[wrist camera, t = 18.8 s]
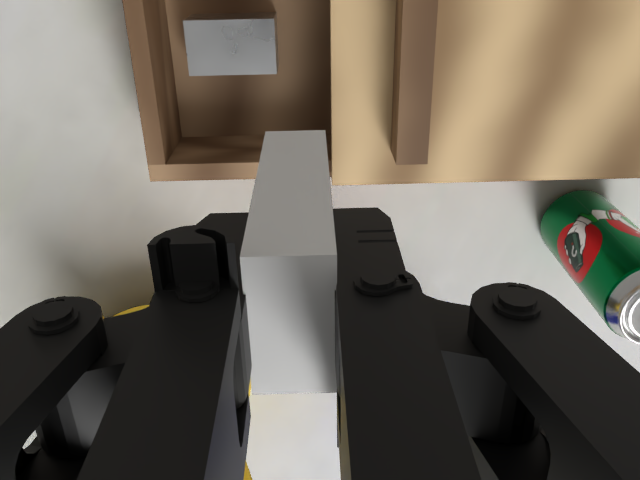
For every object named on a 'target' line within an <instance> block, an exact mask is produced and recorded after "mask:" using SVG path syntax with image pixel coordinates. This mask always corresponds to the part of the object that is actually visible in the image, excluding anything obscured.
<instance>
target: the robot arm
mask: <svg viewBox="0 0 640 480" xmlns="http://www.w3.org/2000/svg"><path fill="white" fill-rule="evenodd" d="M147 246H148V252H149V258H150V264H151V270H152V276H153V282H154V289H155V293H154V295H153V297H152V300H151V302H150V305H149V307H147V308H144V309H142V310H139V311H135V312H131V313H127V314H123V315H118V316H113V317H108V318H104V319H103V316H102V311H101V306H99V305H98V304H97V303H96V302H95V301H93V300H91V299H87V298H83V297H66V296H63V297H56V298H55V299H54V298H51V299H47V300H44V301H42V302H40V303H38V304H35V305H33V306H30V307H28V308H27V309H25V310H24V311H22V312H20V313H19V314H17V315H16V316H15V317H13V318H12V319H11V320H10V321H9V322H8V323H6V324H5V325H4V326H3V327H2V328H0V480H244V471H245V462H246V453H247V444H248V435H249V426H250V417H251V415H250V404H249V393H248V392H249V384H250V379H251V390H252V395H258V394H294V393H331V392H337V447H339V454H340V471H341V480H640V373H639V372H638V371H637V370H636V369H635V368H633V367H632V366H631V365H630V364H629V363H628V362H627V361H626V360H624V359H623V358H622V357H621V356H620V355H619V354H618V353H616V352H615V351H614V350H613V349H612V348H611V347H610V346H608V345H607V344H606V343H605V342H604V341H603V340H602V339H601V338H599V337H598V336H597V335H596V334H595V333H594V332H593V331H591V330H590V329H589V328H588V327H587V326H586V325H585V324H584V323H582V322H581V321H580V320H579V319H578V318H577V317H576V316H574V315H573V314H572V313H571V312H570V311H569V310H568V309H566V308H565V307H564V306H563V305H562V304H561V303H560V302H559V301H557V300H556V299H555V298H553V297H552V296H550V295H549V294H547V293H546V292H544V291H542V290H539V289H536V288H533V287H530V286H528V285H525V284H520V283H519V284H516V283H509V282H508V283H495V284H491V285H487V286H484V287H481V288H480V289H478V290H477V291H476V292H475V293H474V294H472V299H471V304H470V306H468V305H461V304H455V303H449V302H445V301H440V300H437V299H434V298H431V297H429V296H426V295H425V294H423V293H422V290H421V287H420V284H419V282H418V281H417V279H416V278H415V277H414V276H413V275H412V274H410V273H408V272H407V271H406V270H405V267H404V263H403V260H402V256H401V253H400V250H399V246H398V243H397V239H396V236H395V232H394V229H393V226H392V222H391V219H390V217H389V216H387V215H386V214H385V213H384V212H382V211H381V210H380V209H378V208H341V209H333V207H332V196H331V186H330V175H329V164H328V154H327V143H326V133H325V130H304V131H265V136H264V141H263V146H262V151H261V155H260V160H259V165H258V170H257V175H256V180H255V185H254V190H253V194H252V199H251V204H250V209H249V213H211V214H209V215H208V216H206V217H205V218H204V219H203V220H201V221H200V222H199V223H197V224H196V225H193V226H183V227H179V228H175V229H172V230H168V231H165V232H163V233H162V234H160V235H158V236H156V237H154V238H153V239H152V240H151V241H150V242H149V244H148V245H147ZM34 430H36V433H37V437H36V438H35V439H34V440H33V442H32V443H31V444H30V445H29V446H28V447H26V448H25V449H23V448H22V447H23V445H24V443H25V442H26V440H27V439H28V437H29V436H30V435H31V434H32V433H33V432H34Z"/></svg>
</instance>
